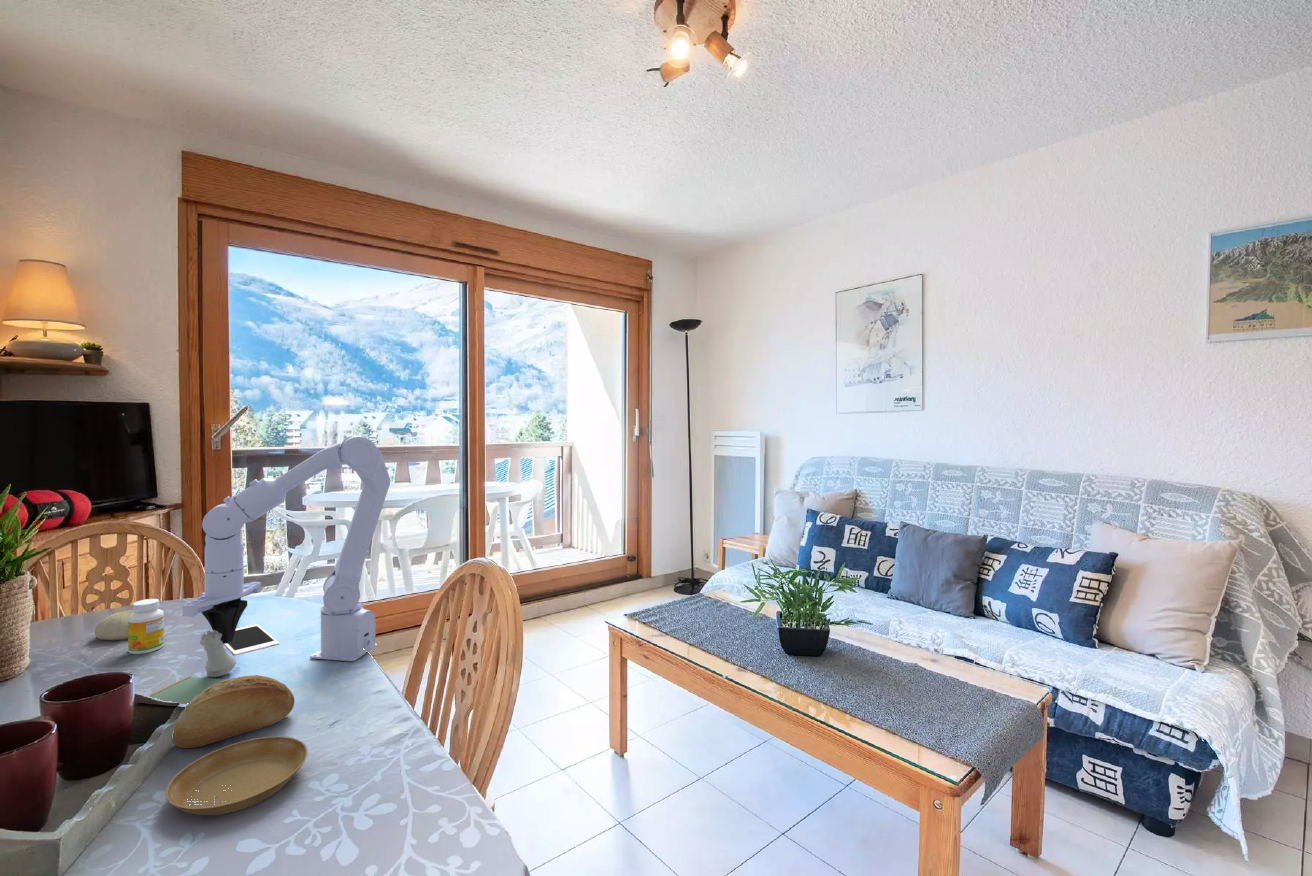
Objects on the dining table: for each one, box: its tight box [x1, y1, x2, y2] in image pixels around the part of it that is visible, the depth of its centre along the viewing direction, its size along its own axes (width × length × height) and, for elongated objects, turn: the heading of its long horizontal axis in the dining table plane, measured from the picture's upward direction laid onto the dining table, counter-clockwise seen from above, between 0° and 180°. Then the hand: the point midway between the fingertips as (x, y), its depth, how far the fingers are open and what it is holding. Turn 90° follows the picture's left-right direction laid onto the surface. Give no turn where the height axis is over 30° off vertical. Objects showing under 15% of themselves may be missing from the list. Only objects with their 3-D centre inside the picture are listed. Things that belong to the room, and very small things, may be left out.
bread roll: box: [172, 674, 295, 749], centre depth 85 cm, size 10×15×8 cm, turn 134°
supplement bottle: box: [127, 598, 165, 655], centre depth 114 cm, size 5×5×10 cm
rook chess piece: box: [199, 630, 237, 678], centre depth 103 cm, size 4×4×8 cm
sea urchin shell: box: [94, 609, 134, 641], centre depth 122 cm, size 9×8×8 cm
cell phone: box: [223, 623, 280, 656], centre depth 120 cm, size 8×16×1 cm, turn 50°
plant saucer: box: [164, 736, 309, 817], centre depth 73 cm, size 15×15×3 cm
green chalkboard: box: [146, 675, 226, 704], centre depth 97 cm, size 12×9×1 cm
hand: (224, 641), depth 105 cm, fingers closed
